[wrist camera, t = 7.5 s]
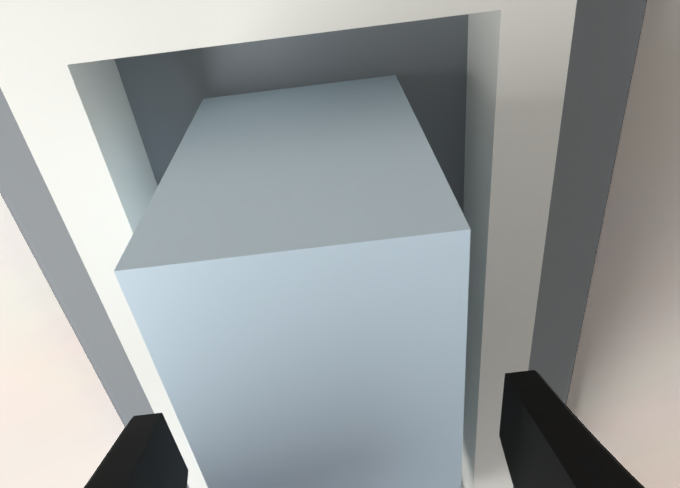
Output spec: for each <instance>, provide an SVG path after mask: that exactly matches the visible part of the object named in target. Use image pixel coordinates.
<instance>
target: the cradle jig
mask: <svg viewBox="0 0 680 488" xmlns="http://www.w3.org/2000/svg"><path fill="white" fill-rule="evenodd" d="M646 3H647V0H0V193H1V195H2V197H3V199H4V201H5V203H6V205H7V207H8V208H9V210H10V212H11V214H12V216H13V218H14V220H15V222H16V223H17V225H18V227H19V229H20V231H21V233H22V235H23V237H24V238H25V240H26V242H27V244H28V246H29V248H30V250H31V252H32V253H33V255H34V257H35V259H36V261H37V263H38V265H39V267H40V268H41V270H42V272H43V274H44V276H45V278H46V280H47V282H48V284H49V285H50V287H51V289H52V291H53V293H54V295H55V297H56V299H57V300H58V302H59V304H60V306H61V308H62V310H63V312H64V314H65V315H66V317H67V319H68V321H69V323H70V325H71V327H72V329H73V330H74V332H75V334H76V336H77V338H78V340H79V342H80V344H81V345H82V347H83V349H84V351H85V353H86V355H87V357H88V359H89V360H90V362H91V364H92V366H93V368H94V370H95V372H96V374H97V376H98V377H99V379H100V381H101V383H102V385H103V387H104V389H105V391H106V392H107V394H108V396H109V398H110V400H111V402H112V404H113V406H114V407H115V409H116V411H117V413H118V415H119V417H120V419H121V421H122V422H123V424H124V426H125V427H126V425H127V424H128V422H129V421H130V420H131V418H132V417H133V416H137V415H146V414H154V413H163V416H164V418H165V420H166V422H167V424H168V427H169V429H170V431H171V433H172V435H173V437H174V440H175V442H176V444H177V446H178V448H179V451H180V453H181V455H182V457H183V459H184V462H185V464H186V466H187V468H188V480H187V488H208V486H207V484H206V482H205V480H204V477H203V475H202V473H201V470H200V468H199V466H198V464H197V461H196V459H195V457H194V454H193V452H192V450H191V447H190V445H189V443H188V441H187V438H186V436H185V434H184V431H183V429H182V427H181V424H180V422H179V420H178V418H177V415H176V413H175V411H174V408H173V406H172V404H171V402H170V399H169V397H168V395H167V392H166V390H165V388H164V385H163V383H162V381H161V379H160V376H159V374H158V372H157V369H156V367H155V365H154V363H153V360H152V358H151V356H150V353H149V351H148V349H147V346H146V344H145V342H144V340H143V337H142V335H141V333H140V330H139V328H138V326H137V323H136V321H135V319H134V317H133V314H132V312H131V310H130V307H129V305H128V303H127V301H126V298H125V296H124V294H123V291H122V289H121V287H120V284H119V282H118V280H117V278H116V275H115V273H114V270H115V268H116V266H117V264H118V262H119V260H120V258H121V256H122V254H123V253H124V251H125V249H126V247H127V245H128V243H129V241H130V239H131V237H132V235H133V233H134V231H135V229H136V227H137V226H138V224H139V222H140V220H141V218H142V216H143V214H144V212H145V210H146V208H147V206H148V204H149V202H150V200H151V199H152V197H153V195H154V193H155V191H156V189H157V187H158V185H159V183H160V181H161V179H162V177H163V175H164V174H165V172H166V170H167V168H168V166H169V164H170V162H171V160H172V158H173V156H174V154H175V152H176V150H177V148H178V147H179V145H180V143H181V141H182V139H183V137H184V135H185V133H186V131H187V129H188V127H189V125H190V123H191V122H192V120H193V118H194V116H195V114H196V112H197V110H198V108H199V106H200V104H201V102H202V100H203V99H204V98H213V97H221V96H229V95H237V94H245V93H253V92H261V91H269V90H277V89H286V88H294V87H302V86H310V85H318V84H326V83H334V82H342V81H350V80H359V79H367V78H375V77H383V76H391V75H396V77H397V79H398V81H399V83H400V85H401V87H402V89H403V91H404V93H405V95H406V98H407V100H408V102H409V104H410V106H411V108H412V110H413V112H414V114H415V116H416V118H417V120H418V122H419V124H420V126H421V128H422V130H423V132H424V134H425V137H426V139H427V141H428V143H429V145H430V147H431V149H432V151H433V153H434V155H435V157H436V159H437V161H438V163H439V165H440V167H441V169H442V171H443V173H444V176H445V178H446V180H447V182H448V184H449V186H450V188H451V190H452V192H453V194H454V196H455V198H456V200H457V202H458V204H459V206H460V208H461V210H462V212H463V215H464V217H465V219H466V221H467V223H468V225H469V227H470V229H471V234H470V261H469V288H468V315H467V341H466V368H465V395H464V422H463V449H462V476H461V488H514V486H513V483H512V480H511V476H510V473H509V469H508V466H507V463H506V459H505V455H504V452H503V448H502V444H501V441H500V437H499V430H500V420H501V409H502V399H503V388H504V378H505V373H512V372H521V371H529V370H535V371H537V372H538V373H539V374H540V375H541V376H542V378H543V379H544V380H545V381H546V382H547V384H548V385H549V386H550V387H551V388H552V389H553V391H554V392H555V393H556V394H557V395H558V397H559V398H560V399H561V400H562V401H563V402H564V403H565V405H566V402H567V397H568V392H569V387H570V382H571V377H572V372H573V367H574V362H575V357H576V352H577V347H578V342H579V337H580V332H581V327H582V323H583V318H584V313H585V308H586V303H587V298H588V293H589V288H590V283H591V278H592V273H593V268H594V263H595V258H596V253H597V248H598V243H599V238H600V233H601V228H602V223H603V218H604V213H605V208H606V203H607V198H608V193H609V188H610V183H611V178H612V173H613V168H614V163H615V158H616V153H617V148H618V143H619V138H620V133H621V128H622V123H623V118H624V113H625V108H626V103H627V98H628V93H629V88H630V83H631V78H632V73H633V68H634V63H635V58H636V53H637V48H638V43H639V38H640V33H641V28H642V23H643V18H644V13H645V8H646Z"/></svg>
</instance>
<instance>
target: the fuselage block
mask: <svg viewBox="0 0 680 488" xmlns="http://www.w3.org/2000/svg"><path fill="white" fill-rule="evenodd" d="M470 234H471V229H470V227H469V225H468V223H467V221H466V219H465V217H464V215H463V212H462V210H461V208H460V206H459V204H458V202H457V200H456V198H455V196H454V194H453V192H452V190H451V188H450V186H449V184H448V182H447V180H446V178H445V176H444V173H443V171H442V169H441V167H440V165H439V163H438V161H437V159H436V157H435V155H434V153H433V151H432V149H431V147H430V145H429V143H428V141H427V139H426V137H425V134H424V132H423V130H422V128H421V126H420V124H419V122H418V120H417V118H416V116H415V114H414V112H413V110H412V108H411V106H410V104H409V102H408V100H407V98H406V95H405V93H404V91H403V89H402V87H401V85H400V83H399V81H398V79H397V77H396V75H391V76H383V77H375V78H367V79H359V80H350V81H342V82H334V83H326V84H318V85H310V86H302V87H294V88H286V89H277V90H269V91H261V92H253V93H245V94H237V95H229V96H221V97H213V98H204V99H203V100H202V102H201V104H200V106H199V108H198V110H197V112H196V114H195V116H194V118H193V120H192V122H191V123H190V125H189V127H188V129H187V131H186V133H185V135H184V137H183V139H182V141H181V143H180V145H179V147H178V148H177V150H176V152H175V154H174V156H173V158H172V160H171V162H170V164H169V166H168V168H167V170H166V172H165V174H164V175H163V177H162V179H161V181H160V183H159V185H158V187H157V189H156V191H155V193H154V195H153V197H152V199H151V200H150V202H149V204H148V206H147V208H146V210H145V212H144V214H143V216H142V218H141V220H140V222H139V224H138V226H137V227H136V229H135V231H134V233H133V235H132V237H131V239H130V241H129V243H128V245H127V247H126V249H125V251H124V253H123V254H122V256H121V258H120V260H119V262H118V264H117V266H116V268H115V270H114V273H115V275H116V278H117V280H118V282H119V284H120V287H121V289H122V291H123V294H124V296H125V298H126V301H127V303H128V305H129V307H130V310H131V312H132V314H133V317H134V319H135V321H136V323H137V326H138V328H139V330H140V333H141V335H142V337H143V340H144V342H145V344H146V346H147V349H148V351H149V353H150V356H151V358H152V360H153V363H154V365H155V367H156V369H157V372H158V374H159V376H160V379H161V381H162V383H163V385H164V388H165V390H166V392H167V395H168V397H169V399H170V402H171V404H172V406H173V408H174V411H175V413H176V415H177V418H178V420H179V422H180V424H181V427H182V429H183V431H184V434H185V436H186V438H187V441H188V443H189V445H190V447H191V450H192V452H193V454H194V457H195V459H196V461H197V464H198V466H199V468H200V470H201V473H202V475H203V477H204V480H205V482H206V484H207V486H208V488H461V476H462V449H463V422H464V395H465V368H466V341H467V315H468V288H469V261H470Z"/></svg>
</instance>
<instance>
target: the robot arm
mask: <svg viewBox="0 0 680 488" xmlns="http://www.w3.org/2000/svg"><path fill="white" fill-rule="evenodd" d="M499 437H500V441H501V444H502V448H503V452H504V455H505V459H506V463H507V466H508V469H509V473H510V476H511V480H512V483H513V486H514V488H645V487H644V486H642V485H641V484H640V483H639V482H638V481H637V480H636V479H635V478H634V477H633V476H632V475H631V474H630V473H629V472H628V471H627V470H626V469H625V468H624V467H623V466H622V465H621V464H620V463H619V462H618V461H617V460H616V458H615V457H614V456H613V455H612V454H611V453H610V452H609V451H608V450H607V449H606V448H605V447H604V446H603V445H602V444H601V443H600V442H599V441H598V440H597V439H596V438H595V437H594V436H593V435H592V433H591V432H590V431H589V430H588V429H587V428H586V427H585V426H584V425H583V424H582V423H581V421H580V420H579V419H578V418H577V417H576V416H575V415H574V414H573V413H572V411H571V410H570V409H569V408H568V407H567V406H566V405H565V403H564V402H563V401H562V400H561V399H560V398H559V397H558V395H557V394H556V393H555V392H554V391H553V389H552V388H551V387H550V386H549V385H548V384H547V382H546V381H545V380H544V379H543V378H542V376H541V375H540V374H539V373H538V372H537V371H535V370H529V371H521V372H512V373H505V378H504V388H503V399H502V409H501V420H500V430H499ZM187 480H188V468H187V466H186V464H185V462H184V459H183V457H182V455H181V453H180V451H179V448H178V446H177V444H176V442H175V440H174V437H173V435H172V433H171V431H170V429H169V427H168V424H167V422H166V420H165V418H164V416H163V413H154V414H146V415H137V416H133V417H132V418H131V420H130V421H129V422H128V424H127V425H126V427H125V428H124V430H123V431H122V433H121V434H120V436H119V437H118V439H117V440H116V442H115V443H114V445H113V446H112V447H111V449H110V450H109V452H108V453H107V455H106V456H105V458H104V459H103V461H102V462H101V464H100V465H99V467H98V468H97V470H96V471H95V472H94V474H93V475H92V477H91V478H90V480H89V481H88V483H87V484H86V485H85V487H84V488H187Z"/></svg>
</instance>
